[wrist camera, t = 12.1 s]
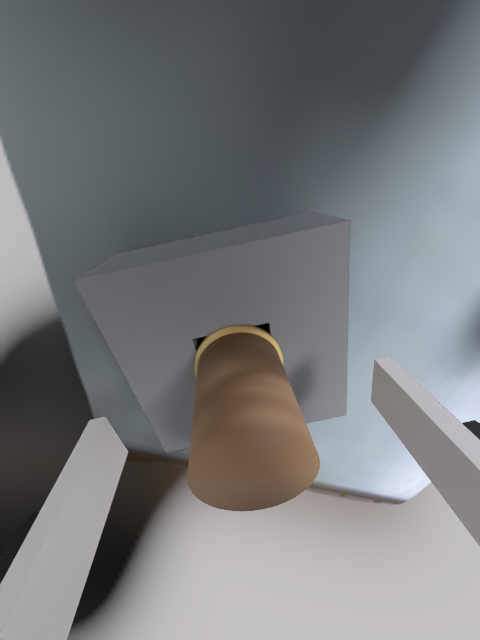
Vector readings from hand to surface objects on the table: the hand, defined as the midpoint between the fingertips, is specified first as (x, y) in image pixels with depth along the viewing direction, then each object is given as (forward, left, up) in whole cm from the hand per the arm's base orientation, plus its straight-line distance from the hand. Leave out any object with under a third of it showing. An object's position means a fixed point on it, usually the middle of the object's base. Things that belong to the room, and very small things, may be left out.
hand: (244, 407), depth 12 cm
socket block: (0, 0, -10) cm, 10 cm away
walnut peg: (0, 0, -10) cm, 10 cm away
